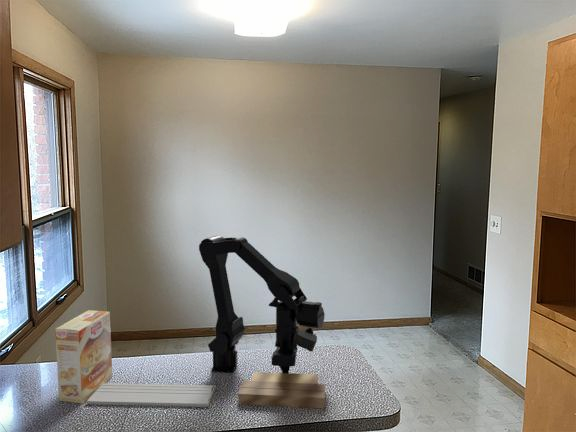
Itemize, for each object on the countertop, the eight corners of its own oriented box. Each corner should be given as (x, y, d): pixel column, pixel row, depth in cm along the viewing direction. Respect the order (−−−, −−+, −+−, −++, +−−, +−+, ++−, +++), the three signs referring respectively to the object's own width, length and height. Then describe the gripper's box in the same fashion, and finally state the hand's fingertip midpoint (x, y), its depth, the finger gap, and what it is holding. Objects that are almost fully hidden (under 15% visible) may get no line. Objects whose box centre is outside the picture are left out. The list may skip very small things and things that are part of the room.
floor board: (238, 404, 119) (238, 393, 119) (244, 387, 128) (244, 377, 127) (324, 408, 117) (324, 397, 117) (324, 391, 126) (325, 381, 125)
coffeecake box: (83, 404, 119) (79, 330, 116) (57, 401, 120) (53, 328, 117) (114, 376, 133) (111, 310, 131) (91, 374, 135) (87, 309, 132)
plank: (251, 391, 126) (251, 381, 126) (253, 381, 131) (253, 372, 131) (318, 393, 125) (318, 383, 125) (317, 383, 130) (318, 374, 130)
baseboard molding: (106, 383, 131) (87, 406, 119) (106, 374, 130) (86, 396, 118) (217, 386, 130) (208, 409, 118) (217, 376, 129) (208, 398, 117)
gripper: (314, 336, 120) (313, 394, 122) (316, 312, 138) (315, 362, 140) (271, 335, 121) (271, 392, 123) (278, 311, 139) (278, 360, 141)
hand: (286, 375), depth 132 cm, fingers closed
